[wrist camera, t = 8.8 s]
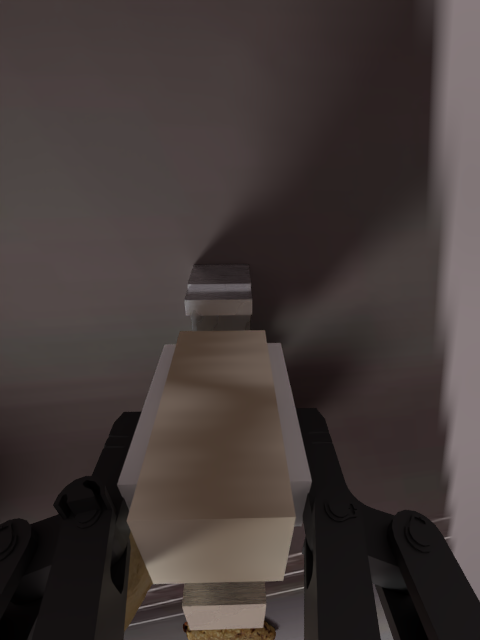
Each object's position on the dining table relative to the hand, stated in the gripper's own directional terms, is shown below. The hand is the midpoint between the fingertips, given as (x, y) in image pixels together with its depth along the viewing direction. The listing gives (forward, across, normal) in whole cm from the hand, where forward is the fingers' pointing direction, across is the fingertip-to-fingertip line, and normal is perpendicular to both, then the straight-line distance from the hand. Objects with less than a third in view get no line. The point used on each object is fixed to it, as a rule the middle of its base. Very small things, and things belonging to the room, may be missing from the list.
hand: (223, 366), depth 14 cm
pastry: (+5, -1, -65) cm, 65 cm away
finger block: (0, 0, 0) cm, 0 cm away
